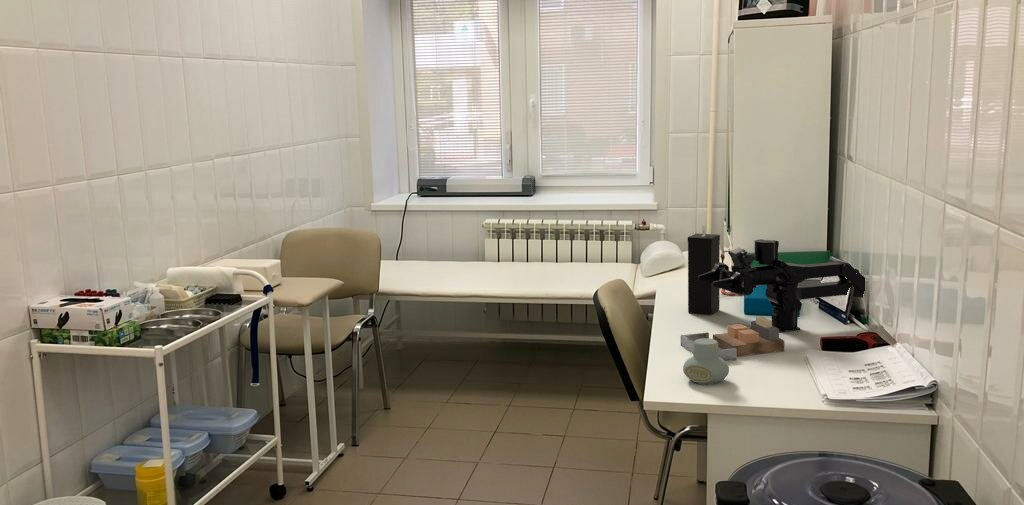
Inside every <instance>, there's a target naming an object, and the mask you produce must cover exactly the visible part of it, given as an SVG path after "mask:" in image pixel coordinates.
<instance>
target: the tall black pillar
mask: <svg viewBox="0 0 1024 505" xmlns="http://www.w3.org/2000/svg"><path fill="white" fill-rule="evenodd" d="M701 230H702V233H698V232H697V233H694V234H692V235H689V236H688V237H687V303H688V304H687V313H688V314H694V315H695V314H697V315H704V316H705V315H706V316H712V315H713V314H716V313H717V312H718V311H720V288H718V287H714V286H713V285H712V283H708V282H705V281H701V280H698V276H699V275H702V274H704V273H707V272H709V271H711V270H713V268H714V264H715V263H720V260H721V259H720V257H721V256H720V255H721V254H720V250H721V249H720V242H721V241H720V240H721V234H714V233H706V232H707V226H706V225H701Z"/></svg>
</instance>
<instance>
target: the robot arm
mask: <svg viewBox="0 0 1024 505" xmlns="http://www.w3.org/2000/svg"><path fill="white" fill-rule="evenodd" d="M779 242H780V241H778V240H775V239H772V240H771V239H762V238H761V239H760V238H759V239H756V240H754V254H752V253H749V252H748V251H747V250H746V249H745V248H744V249H743V248H741V247H737V248H735V249H733V250H731V251H729V252H728V254H729V257H730V258H731V262H732V264H733V265H731V266H730V267H731V268H730V267H729V265H728V264H726V263H723V262H720V263H715V264H714V268H713V270H711V271H709V272H707V273H704V274H702V275H699V276H698V280H701V281H705V282H708V283H712V285H713V286H714V287H718V288H719V289H720V288H721V289H720V290H722V289H724V290H725V291H726V292H727V291H728V292H729V293H737V294H741V295H740V296H751V295H752V292H753V288H756V286H757V287H760V286H761V287H762V286H766V288H765V294H764V295H765V297H766V299H767V300H768V301H769V304H770V305H771V307H772V313H771V321H772V326H774V327H776V328H778V329H779V332H780V333H781V332H790V331H800V330H801V327H800V326H798V319H799V318H798V312H799V311H801V309H802V306H803V303H802V302H801V301H802V300H810V299H819V298H830V297H839V296H846V295H847V292H848V290H849V288H850V287H851V286H852V285H853V287H854V294H853V297H852V298H861V299H864V298H863V294H864V291H865V278H866V277H865V276H864V275H863V274H862V273H860V272H859V271H858V270H856V269H855V268H854V267H853V266H852V264H850V263H849V262H846V261H843V260H836V261H830V262H821V263H820V262H819V263H809V264H807V263H806V264H799V263H793V262H784V261H783V260H781V259H779V246H780V245H779V244H780V243H779ZM754 261H756V262H757V264H758V265H759V266H757V265H755V266H751V265H752V264H753V262H754ZM730 269H731V270H730ZM856 273H857V274H856ZM830 277H831V278H833V277H837V278H838V279H839V280H836V281H829V282H828V281H827V282H825V281H824V282H818V283H817V282H816V283H809V284H801V283H803V282H804V281H805V280H809V279H819V278H830ZM845 277H846V278H847V279H846V278H845ZM799 283H800V284H799Z"/></svg>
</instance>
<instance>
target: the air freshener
mask: <svg viewBox="0 0 1024 505" xmlns="http://www.w3.org/2000/svg"><path fill="white" fill-rule="evenodd" d="M692 354H693V355H692V356H691V357H689V358H688V359H686V360H685V362H684V363H683V366H682V371H683V374H684V375H685V377H687V378H688V380H690V381H692V382H694V383H696V384H698V385H703V386H705V385H707V386H708V385H713V384H716V383H719V382H722V381H723V380H725V379H726V378H727V377H728V375H729V372H730V367H729V365H728V363H727V361H724V360H723V359H721V358H720V357H718V342H717V341H716V340H714V339H713V338H709V339H708V338H702V339H697V340H695V341H694V349H693V353H692Z"/></svg>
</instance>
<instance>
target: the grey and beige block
mask: <svg viewBox="0 0 1024 505" xmlns="http://www.w3.org/2000/svg"><path fill="white" fill-rule="evenodd" d="M750 329H752V330H754V331H756V332H758V333H759V336H760V337H762V338H764V339H766V340H768V341H774V340H779V338H780V331H779V329H778V328H776V327H774V326H772V319H769V318H767V317H765V316H763V315H761V316H756V317H755V320H751V321H750Z"/></svg>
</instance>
